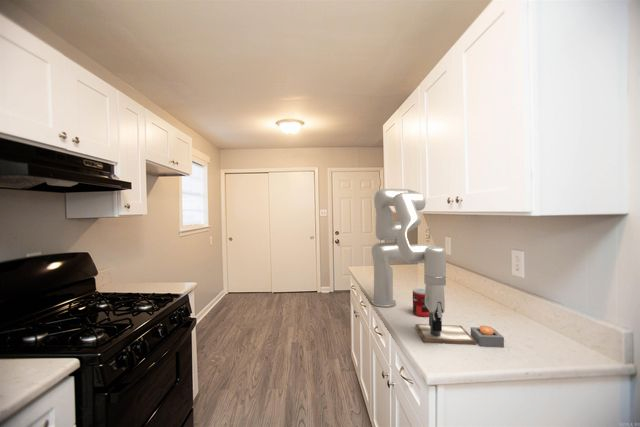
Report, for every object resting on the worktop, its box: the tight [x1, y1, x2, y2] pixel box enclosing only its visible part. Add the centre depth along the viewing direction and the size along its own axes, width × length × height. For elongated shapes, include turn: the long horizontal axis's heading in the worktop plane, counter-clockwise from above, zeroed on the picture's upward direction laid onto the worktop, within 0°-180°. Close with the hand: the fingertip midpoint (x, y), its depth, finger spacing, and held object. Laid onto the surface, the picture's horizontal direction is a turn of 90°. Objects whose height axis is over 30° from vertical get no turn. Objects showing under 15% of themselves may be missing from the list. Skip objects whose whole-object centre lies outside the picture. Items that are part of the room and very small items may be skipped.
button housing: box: [470, 326, 505, 348], centre depth 105 cm, size 8×8×4 cm
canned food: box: [412, 288, 429, 318], centre depth 132 cm, size 8×8×11 cm
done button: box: [479, 325, 495, 335], centre depth 105 cm, size 4×4×3 cm
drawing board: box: [414, 323, 477, 346], centre depth 110 cm, size 14×18×1 cm
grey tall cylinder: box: [430, 310, 441, 336], centre depth 108 cm, size 4×4×11 cm
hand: (435, 327), depth 108 cm, fingers closed on grey tall cylinder, 3 cm apart
